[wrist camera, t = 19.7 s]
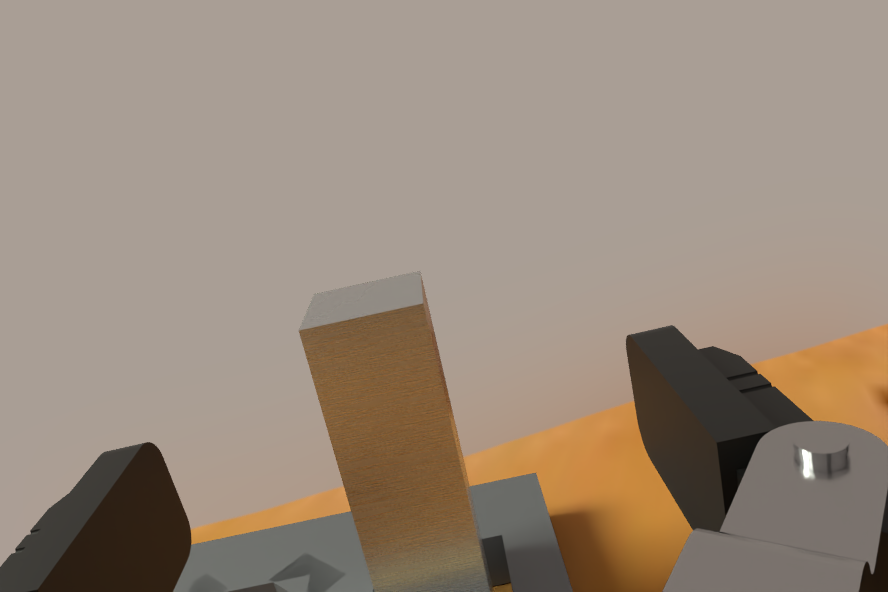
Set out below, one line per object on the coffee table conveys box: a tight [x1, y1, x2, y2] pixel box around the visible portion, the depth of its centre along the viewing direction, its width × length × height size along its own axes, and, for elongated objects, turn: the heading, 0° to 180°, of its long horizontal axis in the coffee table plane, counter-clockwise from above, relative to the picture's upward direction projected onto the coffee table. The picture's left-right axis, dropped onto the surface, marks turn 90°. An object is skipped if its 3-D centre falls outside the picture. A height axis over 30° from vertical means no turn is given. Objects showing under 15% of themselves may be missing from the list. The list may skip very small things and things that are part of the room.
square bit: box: [299, 271, 494, 592], centre depth 26 cm, size 4×4×15 cm
